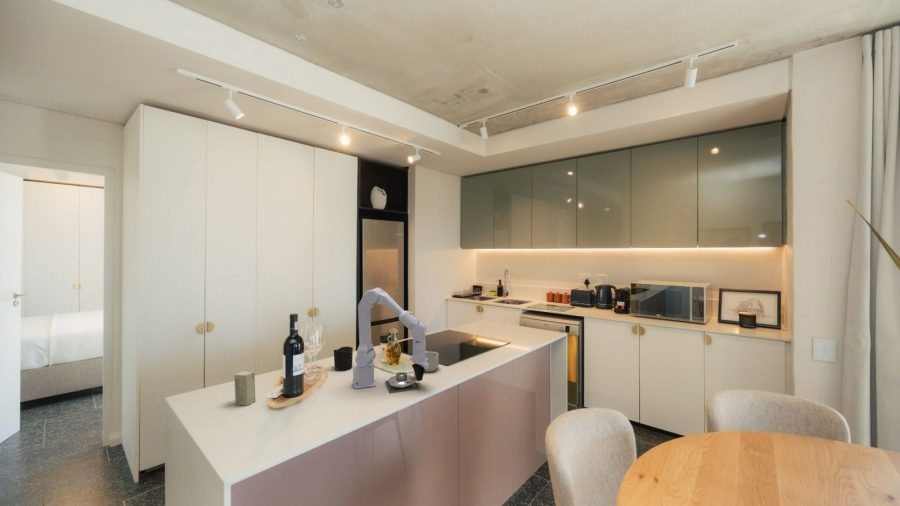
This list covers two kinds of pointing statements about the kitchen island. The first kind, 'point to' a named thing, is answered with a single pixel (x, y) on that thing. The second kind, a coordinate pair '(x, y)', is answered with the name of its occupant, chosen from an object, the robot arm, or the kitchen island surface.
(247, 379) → the skincare box
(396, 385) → the turntable
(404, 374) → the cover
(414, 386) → the turntable base
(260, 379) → the kitchen island surface
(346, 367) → the pen holder
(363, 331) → the robot arm
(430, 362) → the teacup
